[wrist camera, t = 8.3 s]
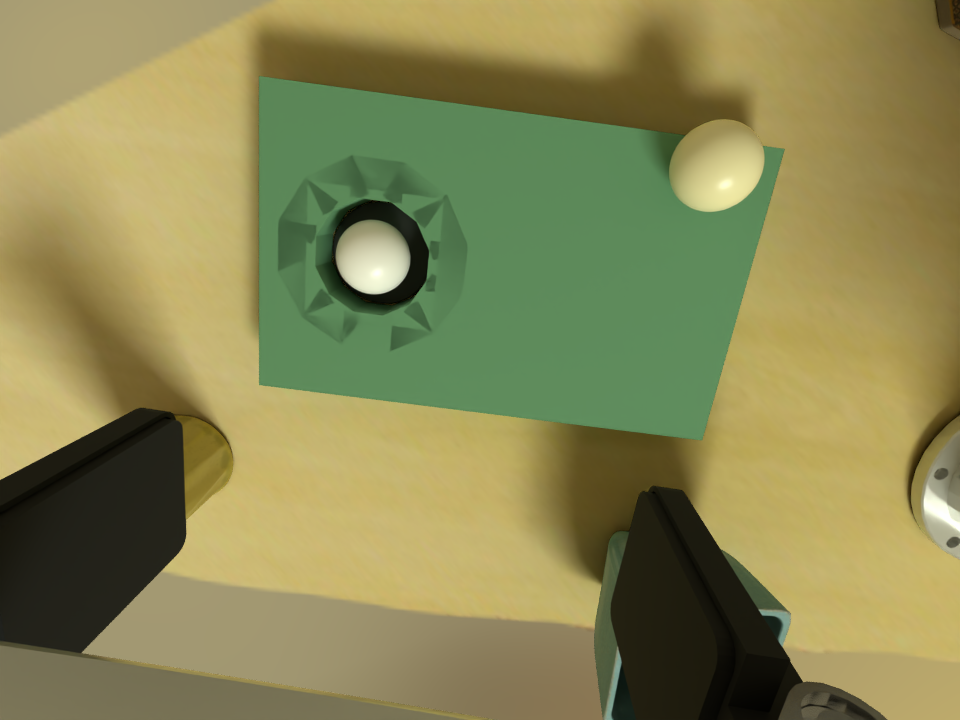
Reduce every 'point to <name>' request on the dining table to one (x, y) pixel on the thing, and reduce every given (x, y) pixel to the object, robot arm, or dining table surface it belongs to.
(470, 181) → the putting mat
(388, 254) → the white ball
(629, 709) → the flower pot
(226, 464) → the vase
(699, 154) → the yellow ball
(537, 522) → the dining table surface
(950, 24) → the ceramic cup
